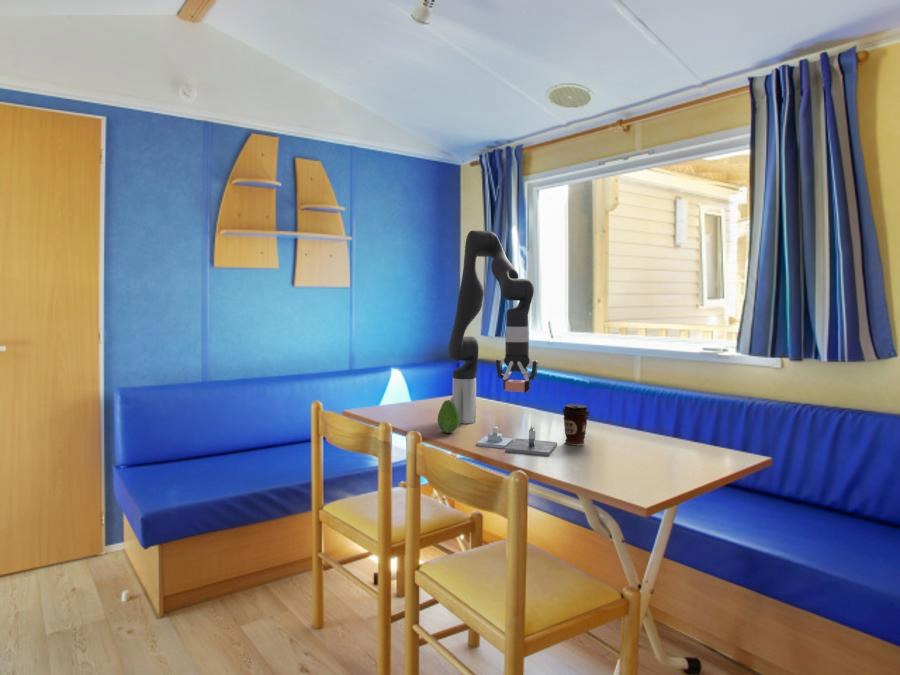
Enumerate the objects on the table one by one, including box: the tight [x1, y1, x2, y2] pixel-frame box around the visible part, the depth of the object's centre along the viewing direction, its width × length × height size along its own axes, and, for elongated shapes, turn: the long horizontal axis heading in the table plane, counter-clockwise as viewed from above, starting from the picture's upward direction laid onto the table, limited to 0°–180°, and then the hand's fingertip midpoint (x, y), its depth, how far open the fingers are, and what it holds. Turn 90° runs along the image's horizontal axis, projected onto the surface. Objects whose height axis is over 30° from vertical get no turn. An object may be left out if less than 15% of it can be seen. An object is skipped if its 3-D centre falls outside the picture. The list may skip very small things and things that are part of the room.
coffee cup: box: [562, 403, 590, 447], centre depth 207 cm, size 9×8×13 cm
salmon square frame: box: [504, 379, 526, 393], centre depth 200 cm, size 6×6×3 cm
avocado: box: [437, 399, 460, 434], centre depth 221 cm, size 8×8×12 cm
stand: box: [475, 426, 514, 449], centre depth 206 cm, size 10×10×6 cm
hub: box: [504, 426, 558, 457], centre depth 200 cm, size 14×14×7 cm
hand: (516, 391), depth 200 cm, fingers closed on salmon square frame, 6 cm apart
